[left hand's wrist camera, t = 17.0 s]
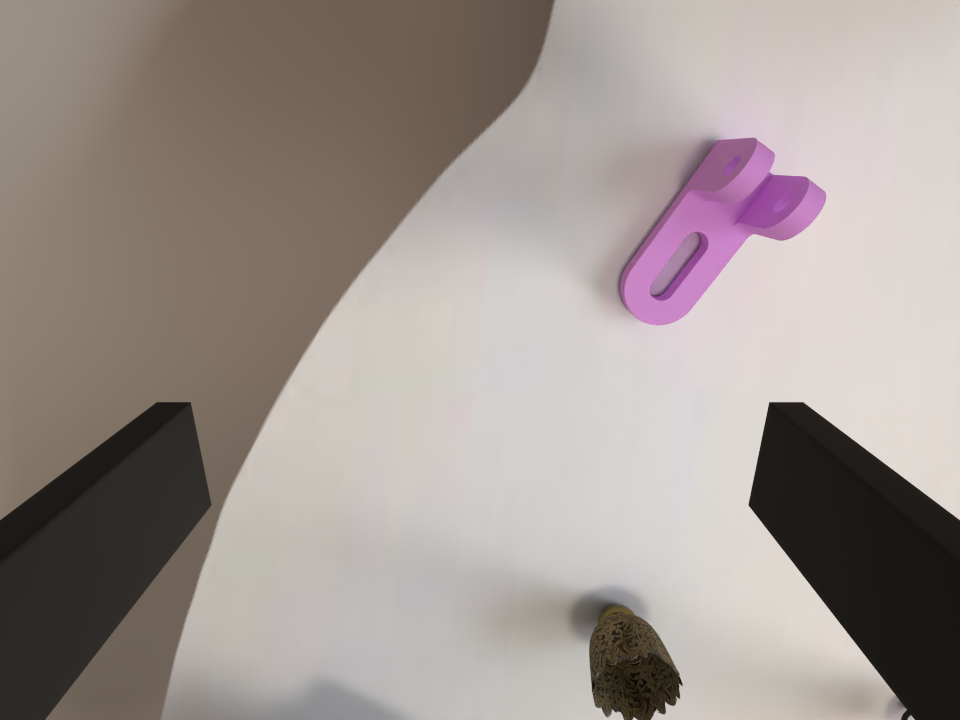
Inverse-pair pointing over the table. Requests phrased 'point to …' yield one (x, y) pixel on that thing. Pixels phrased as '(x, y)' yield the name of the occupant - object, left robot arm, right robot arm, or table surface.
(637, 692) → the cup
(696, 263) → the bracket
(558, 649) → the table surface
